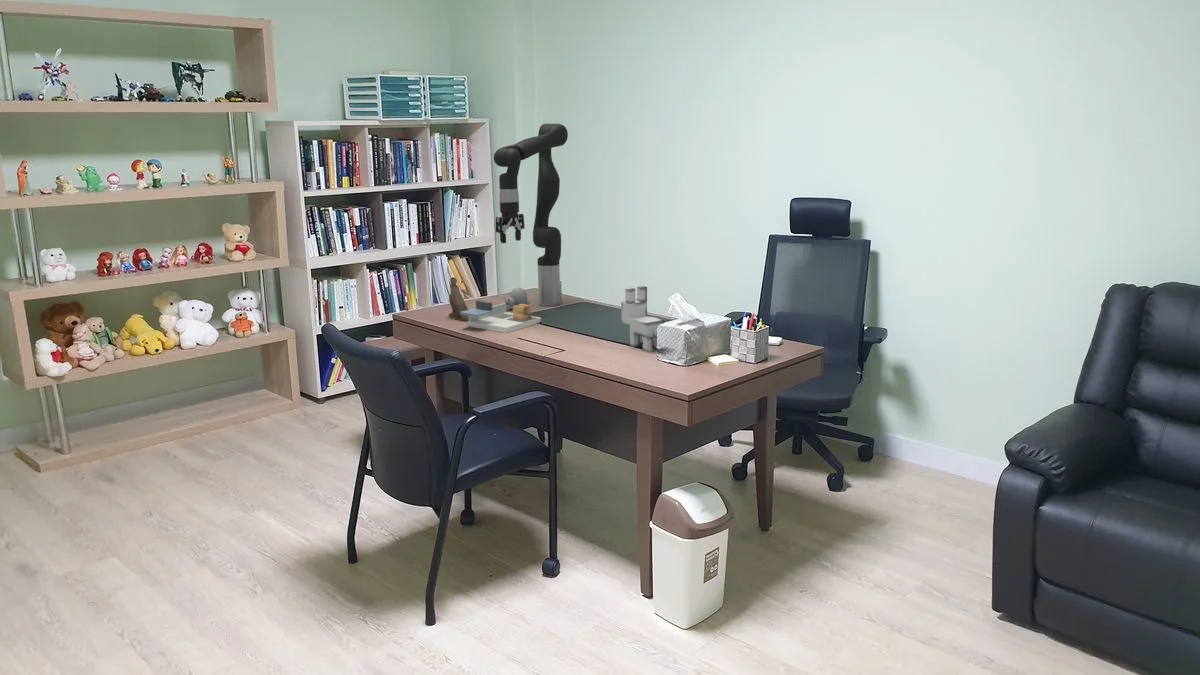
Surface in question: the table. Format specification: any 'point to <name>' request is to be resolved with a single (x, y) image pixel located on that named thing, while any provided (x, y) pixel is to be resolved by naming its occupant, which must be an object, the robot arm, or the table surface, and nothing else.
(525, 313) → the wooden block
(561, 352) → the table surface
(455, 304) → the worn brown figurine
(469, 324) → the puzzle board
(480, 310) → the sliding lid
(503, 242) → the robot arm
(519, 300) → the round bodied animal figurine
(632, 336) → the toy llama
